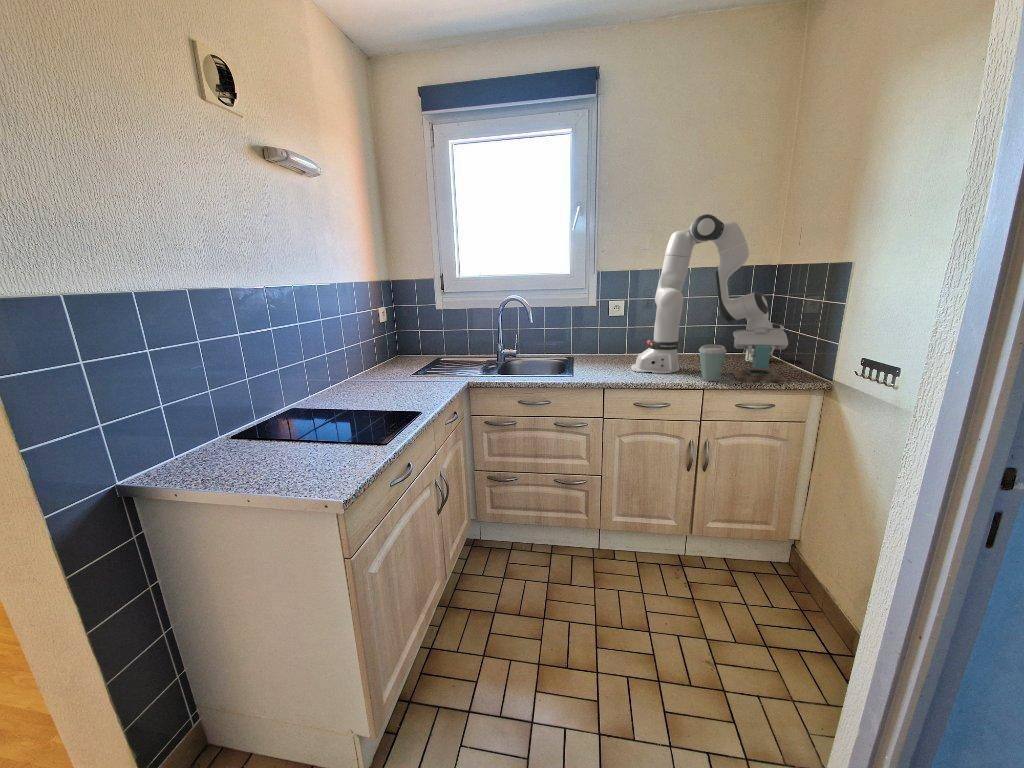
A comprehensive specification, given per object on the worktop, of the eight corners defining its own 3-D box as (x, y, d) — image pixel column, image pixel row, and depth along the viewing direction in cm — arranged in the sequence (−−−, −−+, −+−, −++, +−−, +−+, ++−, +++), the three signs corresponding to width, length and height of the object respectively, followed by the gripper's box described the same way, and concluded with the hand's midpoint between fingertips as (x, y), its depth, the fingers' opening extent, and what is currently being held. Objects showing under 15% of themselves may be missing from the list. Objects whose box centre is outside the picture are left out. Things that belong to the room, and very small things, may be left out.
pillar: (754, 367, 175) (757, 347, 173) (752, 365, 180) (754, 345, 177) (768, 368, 174) (770, 347, 171) (765, 365, 178) (767, 345, 176)
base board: (738, 381, 175) (738, 374, 174) (732, 373, 187) (732, 367, 186) (786, 383, 169) (787, 376, 169) (777, 375, 181) (778, 369, 181)
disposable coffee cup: (722, 384, 171) (726, 349, 167) (694, 381, 176) (698, 347, 172) (723, 378, 180) (727, 344, 176) (697, 376, 185) (700, 343, 181)
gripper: (734, 325, 182) (736, 351, 175) (787, 325, 176) (791, 352, 169) (731, 334, 187) (733, 359, 181) (782, 334, 181) (786, 360, 174)
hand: (761, 356), depth 175 cm, fingers closed on pillar, 5 cm apart
